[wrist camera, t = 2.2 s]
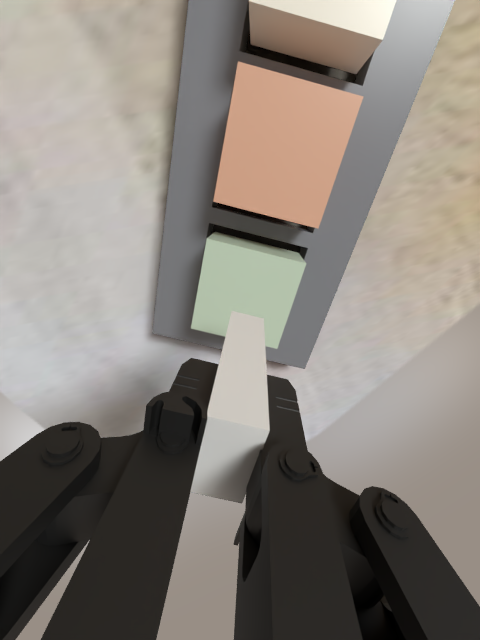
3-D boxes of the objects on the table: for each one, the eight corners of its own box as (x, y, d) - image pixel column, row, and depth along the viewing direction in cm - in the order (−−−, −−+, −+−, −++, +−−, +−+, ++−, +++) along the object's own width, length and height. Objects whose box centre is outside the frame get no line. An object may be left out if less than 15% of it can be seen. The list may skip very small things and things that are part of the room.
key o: (215, 231, 19) (206, 238, 15) (298, 252, 19) (306, 263, 16) (200, 308, 21) (190, 328, 18) (274, 326, 21) (277, 348, 18)
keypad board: (226, -200, 13) (219, -287, 10) (482, -118, 13) (529, -184, 11) (162, 320, 24) (152, 333, 22) (300, 353, 25) (304, 369, 22)
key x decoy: (242, 89, 15) (238, 61, 12) (342, 117, 16) (363, 96, 12) (221, 201, 18) (213, 201, 15) (307, 223, 18) (318, 228, 15)
